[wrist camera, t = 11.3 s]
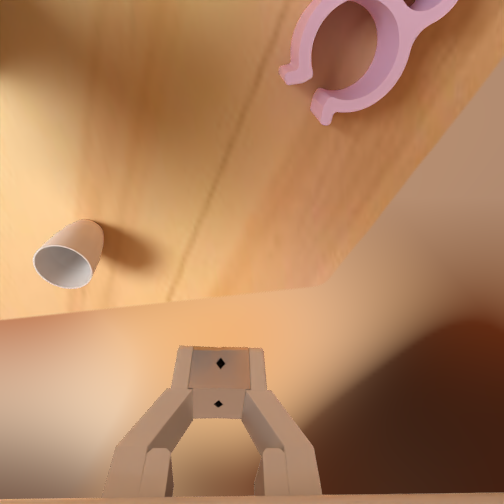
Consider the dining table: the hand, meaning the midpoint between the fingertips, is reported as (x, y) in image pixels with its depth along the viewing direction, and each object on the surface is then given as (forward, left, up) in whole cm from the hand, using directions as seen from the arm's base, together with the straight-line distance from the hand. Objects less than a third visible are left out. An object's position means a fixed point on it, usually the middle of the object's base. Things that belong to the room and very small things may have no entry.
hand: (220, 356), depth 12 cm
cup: (-23, -22, -41) cm, 52 cm away
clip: (+15, +10, -41) cm, 45 cm away
